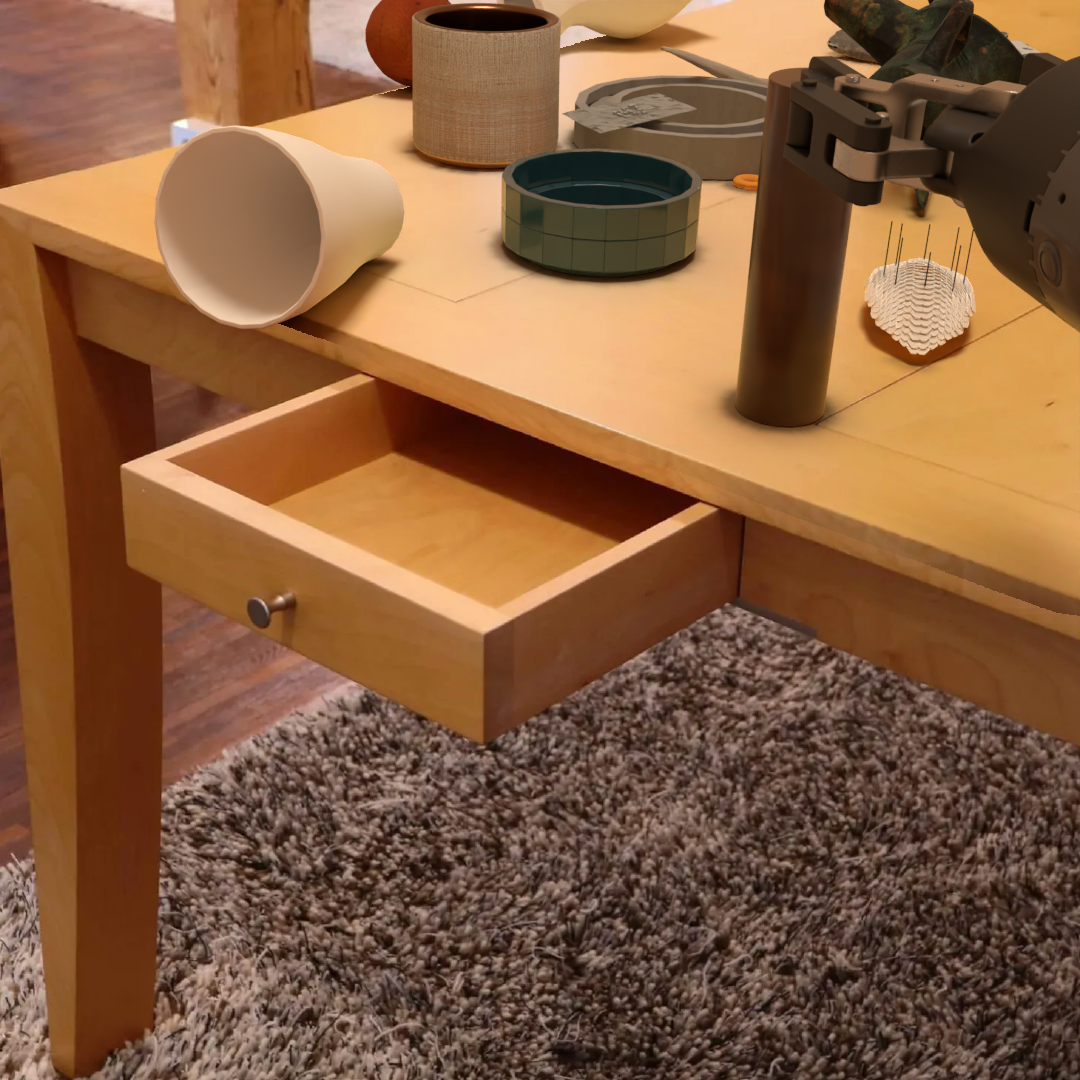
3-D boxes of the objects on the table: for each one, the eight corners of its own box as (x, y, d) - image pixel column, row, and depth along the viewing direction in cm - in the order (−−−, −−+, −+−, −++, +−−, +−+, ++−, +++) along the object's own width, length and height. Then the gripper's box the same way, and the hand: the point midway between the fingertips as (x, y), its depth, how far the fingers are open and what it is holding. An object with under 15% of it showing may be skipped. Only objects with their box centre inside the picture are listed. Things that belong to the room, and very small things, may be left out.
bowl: (701, 222, 97) (706, 155, 94) (689, 289, 86) (695, 215, 84) (518, 209, 98) (519, 142, 96) (486, 273, 88) (486, 199, 85)
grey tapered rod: (811, 88, 125) (802, 111, 125) (769, 75, 128) (761, 97, 128) (690, 35, 112) (681, 62, 113) (646, 22, 115) (637, 48, 115)
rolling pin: (823, 392, 74) (867, 70, 66) (824, 430, 71) (871, 94, 62) (736, 385, 75) (769, 64, 67) (733, 422, 71) (767, 88, 63)
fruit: (338, 51, 120) (369, -43, 120) (381, 86, 129) (410, -2, 128) (432, 77, 118) (464, -19, 117) (469, 112, 126) (500, 22, 126)
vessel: (966, 245, 98) (1051, 128, 116) (1001, 75, 91) (1086, -21, 109) (707, 187, 105) (825, 85, 123) (722, 25, 98) (844, -58, 116)
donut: (833, 152, 109) (831, 165, 110) (727, 175, 104) (725, 188, 105) (856, 162, 107) (854, 175, 108) (749, 185, 102) (748, 199, 103)
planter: (415, 129, 114) (413, 0, 109) (554, 131, 115) (558, 3, 110) (410, 170, 105) (407, 31, 100) (561, 172, 105) (566, 34, 101)
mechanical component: (533, 155, 109) (534, 114, 107) (633, 101, 123) (635, 65, 122) (765, 194, 102) (769, 151, 101) (842, 133, 116) (847, 94, 115)
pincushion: (974, 371, 77) (994, 268, 74) (857, 358, 78) (872, 257, 75) (967, 290, 87) (984, 197, 84) (863, 280, 88) (876, 188, 85)
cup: (472, 217, 86) (364, 240, 74) (361, 331, 91) (242, 370, 79) (359, 80, 86) (232, 80, 74) (254, 201, 91) (119, 220, 79)
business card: (655, 92, 111) (655, 87, 111) (699, 108, 107) (699, 102, 107) (560, 119, 107) (560, 113, 106) (602, 136, 103) (602, 130, 103)
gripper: (1427, 79, 41) (1117, -25, 54) (951, 89, 38) (751, -23, 52) (1344, 331, 44) (1074, 174, 58) (906, 357, 42) (731, 186, 55)
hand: (922, 82), depth 55 cm, fingers open, 8 cm apart
